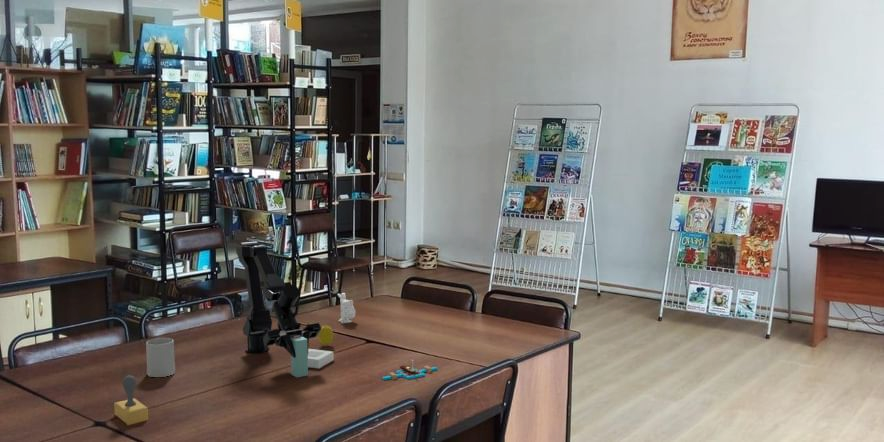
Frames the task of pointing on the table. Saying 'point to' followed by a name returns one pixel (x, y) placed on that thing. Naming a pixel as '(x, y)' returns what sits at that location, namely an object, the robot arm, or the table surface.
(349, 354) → the table surface
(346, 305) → the white upright figurine
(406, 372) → the gear mechanism
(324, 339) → the lemon
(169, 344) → the mug
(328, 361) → the plinth
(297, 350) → the pillar
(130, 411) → the rubber stamp
